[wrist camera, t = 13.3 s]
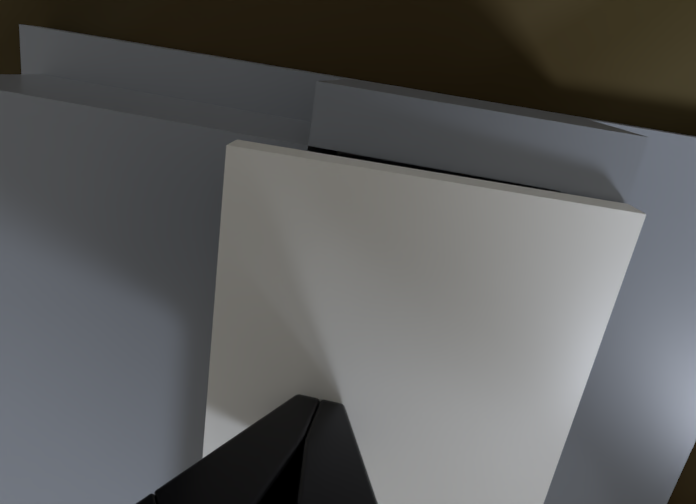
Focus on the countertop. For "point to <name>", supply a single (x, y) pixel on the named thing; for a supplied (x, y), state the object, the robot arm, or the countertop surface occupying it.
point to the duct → (203, 242)
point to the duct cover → (413, 315)
